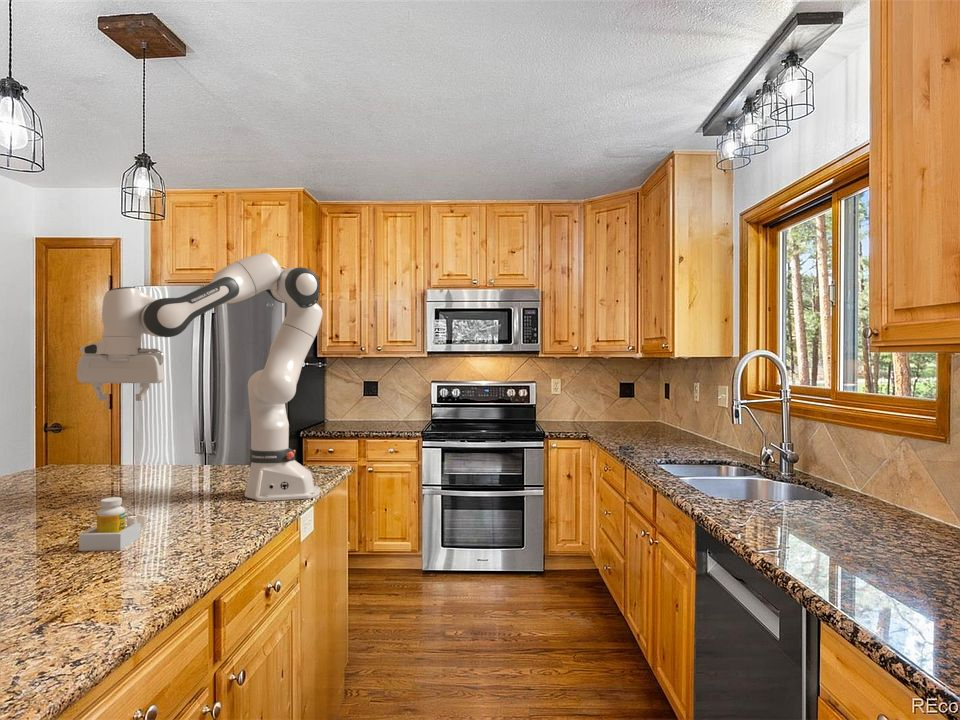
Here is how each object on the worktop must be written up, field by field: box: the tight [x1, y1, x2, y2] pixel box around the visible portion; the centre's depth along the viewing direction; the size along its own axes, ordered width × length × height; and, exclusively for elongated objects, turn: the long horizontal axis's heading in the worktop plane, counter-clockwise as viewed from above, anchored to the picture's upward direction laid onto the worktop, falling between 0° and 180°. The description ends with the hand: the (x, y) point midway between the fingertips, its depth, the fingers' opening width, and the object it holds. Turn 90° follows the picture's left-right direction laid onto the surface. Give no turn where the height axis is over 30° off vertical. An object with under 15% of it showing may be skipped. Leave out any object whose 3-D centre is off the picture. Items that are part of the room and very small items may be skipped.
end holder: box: [78, 523, 141, 552], centre depth 126 cm, size 8×8×4 cm
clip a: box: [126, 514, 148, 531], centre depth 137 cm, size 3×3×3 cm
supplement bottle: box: [96, 496, 126, 533], centre depth 126 cm, size 5×5×10 cm
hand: (121, 400), depth 147 cm, fingers open, 8 cm apart
